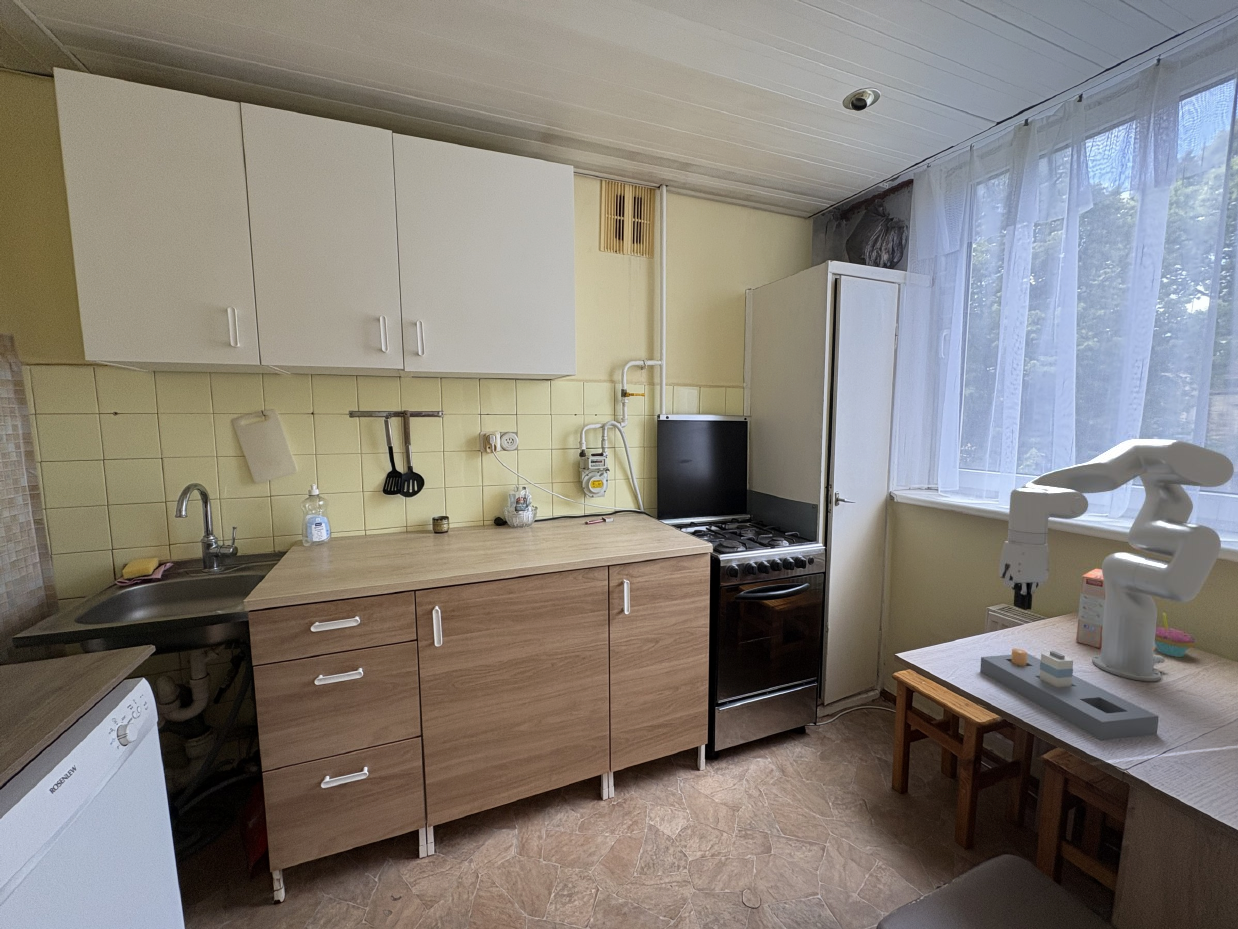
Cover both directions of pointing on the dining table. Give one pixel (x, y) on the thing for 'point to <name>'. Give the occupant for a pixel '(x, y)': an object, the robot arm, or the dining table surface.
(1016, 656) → the brown egg
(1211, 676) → the dining table surface
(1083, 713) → the panel
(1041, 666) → the plug
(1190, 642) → the cupcake
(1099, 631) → the cracker box
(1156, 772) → the dining table surface
